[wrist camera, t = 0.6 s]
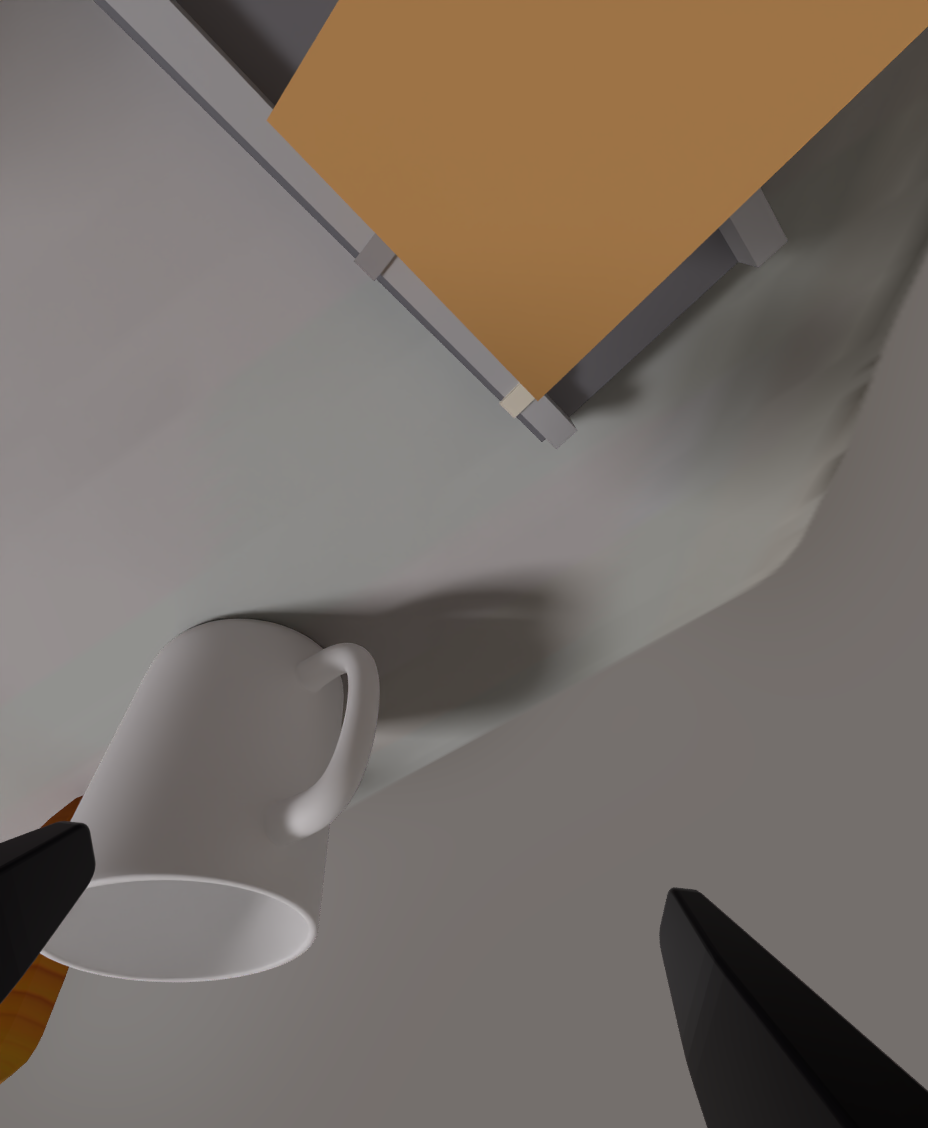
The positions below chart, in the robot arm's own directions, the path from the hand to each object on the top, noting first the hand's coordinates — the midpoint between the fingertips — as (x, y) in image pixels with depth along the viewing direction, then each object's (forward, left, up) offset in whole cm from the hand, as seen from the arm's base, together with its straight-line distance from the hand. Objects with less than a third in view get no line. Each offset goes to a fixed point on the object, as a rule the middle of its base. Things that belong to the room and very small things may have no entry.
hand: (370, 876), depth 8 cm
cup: (+2, -10, -13) cm, 17 cm away
